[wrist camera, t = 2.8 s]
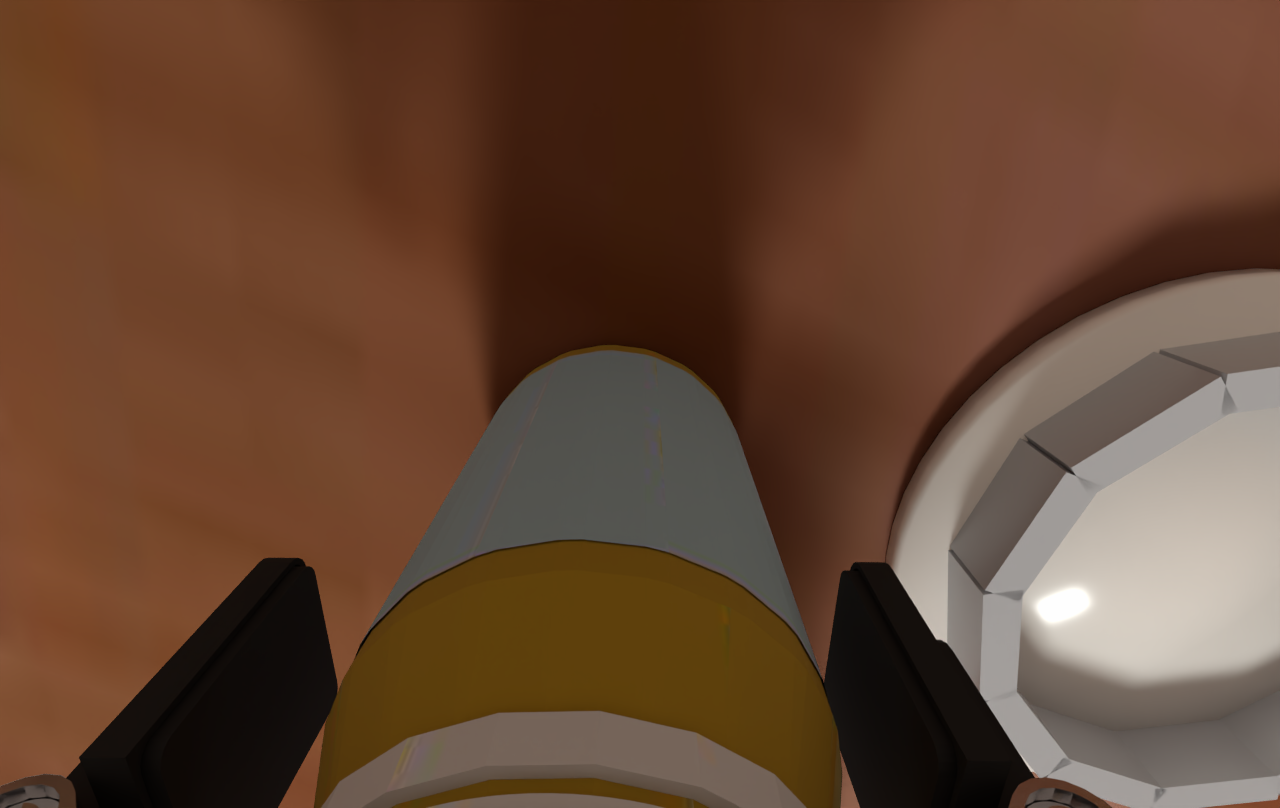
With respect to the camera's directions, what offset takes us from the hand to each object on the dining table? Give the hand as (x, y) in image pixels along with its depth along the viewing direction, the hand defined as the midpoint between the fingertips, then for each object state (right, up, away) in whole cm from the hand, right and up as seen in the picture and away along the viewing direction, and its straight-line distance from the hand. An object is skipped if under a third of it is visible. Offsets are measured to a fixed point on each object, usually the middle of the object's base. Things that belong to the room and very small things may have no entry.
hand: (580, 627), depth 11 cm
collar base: (+17, -1, +8) cm, 19 cm away
